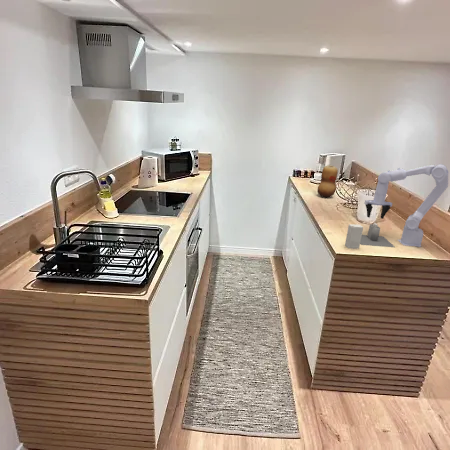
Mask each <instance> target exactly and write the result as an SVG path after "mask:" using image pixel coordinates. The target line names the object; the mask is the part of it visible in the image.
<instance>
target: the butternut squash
mask: <svg viewBox="0 0 450 450" xmlns="http://www.w3.org/2000/svg"><path fill="white" fill-rule="evenodd" d="M322 168H323V169H322V171H321V174H320V175H321V176H320V182H319V184H318V186H317V194H318V195H319V196H321V197H322V196H323V198H330V197H332V196H333V195H335V193H336V191H337V190H336V189H337V187H336V182H337V179H338V173H339V171H338V170H339V169H338V168H337V166H334V165H328V164H327V165H325V166H324V167H322Z"/></svg>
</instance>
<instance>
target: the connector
mask: <svg viewBox="0 0 450 450" xmlns="http://www.w3.org/2000/svg"><path fill="white" fill-rule="evenodd" d="M368 227H369V228H368V231H367V234H366V235H367V237H368V238H369V239H370V240H372V241H378V237H379V236H380V231H381V227H379V226H378V224H377V222H373V223H371V224H369V226H368Z"/></svg>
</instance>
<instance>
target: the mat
mask: <svg viewBox="0 0 450 450" xmlns="http://www.w3.org/2000/svg"><path fill="white" fill-rule="evenodd" d="M367 235H368V234H362V237H361V242H360V246H370V247H371V246H372V247H384V248H396V247H395V245H394V244H392V242H390V241H389V240H388V239H387V238H386V237H385V236H382V235H379V237H378V241H372V240H370V239H369V238H368V237H367Z"/></svg>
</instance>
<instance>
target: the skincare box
mask: <svg viewBox="0 0 450 450" xmlns="http://www.w3.org/2000/svg"><path fill="white" fill-rule="evenodd" d="M347 226H348V227H347V233H346V238H345V242H344V243H345V244H344V246H345V247H346V248H347V249H353V250H356V249H360V247H361V244H360V242H361V237H362V235H363V230H364V226H362V225H361V224H353V223H352V224H348V225H347Z"/></svg>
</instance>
